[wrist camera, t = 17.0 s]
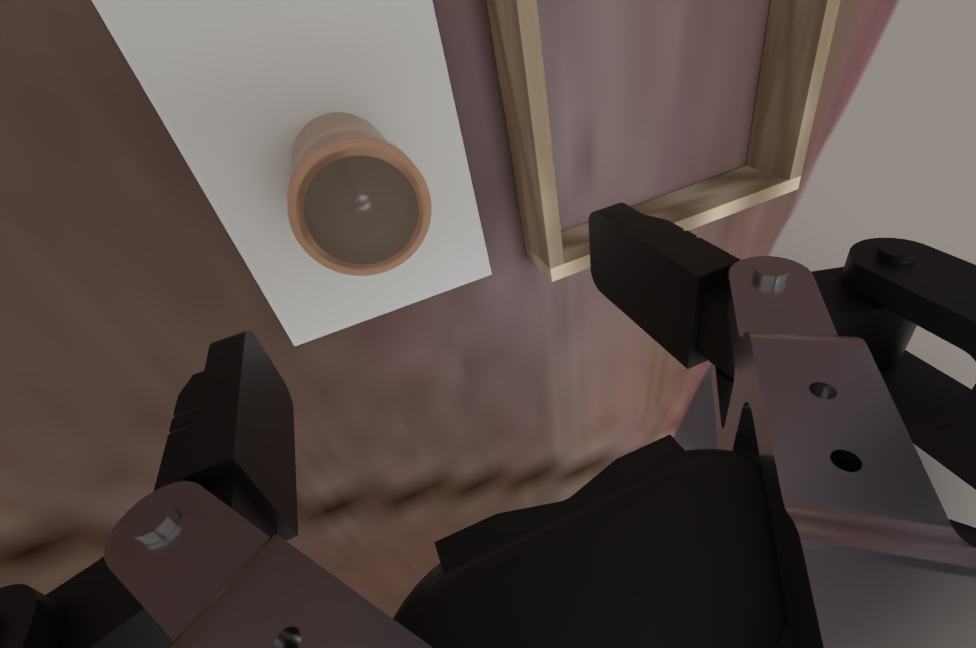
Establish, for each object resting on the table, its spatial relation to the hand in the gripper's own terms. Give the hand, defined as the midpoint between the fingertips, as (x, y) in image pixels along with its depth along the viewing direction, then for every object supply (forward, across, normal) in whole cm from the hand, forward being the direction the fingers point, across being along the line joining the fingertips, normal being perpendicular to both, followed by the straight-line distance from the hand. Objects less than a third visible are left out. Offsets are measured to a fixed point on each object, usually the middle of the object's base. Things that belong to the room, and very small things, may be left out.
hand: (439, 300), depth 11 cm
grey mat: (+19, +1, +1) cm, 19 cm away
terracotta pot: (+18, +1, +1) cm, 18 cm away
